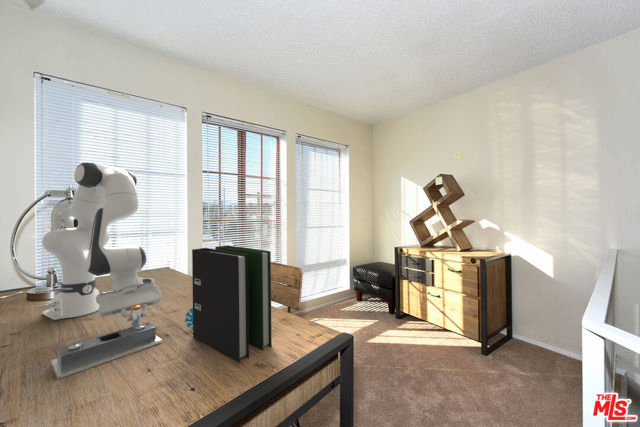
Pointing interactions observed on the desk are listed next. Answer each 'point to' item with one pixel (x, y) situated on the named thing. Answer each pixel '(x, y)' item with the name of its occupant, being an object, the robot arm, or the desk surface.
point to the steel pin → (136, 314)
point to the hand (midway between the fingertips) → (136, 318)
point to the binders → (232, 299)
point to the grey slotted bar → (103, 349)
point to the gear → (190, 317)
